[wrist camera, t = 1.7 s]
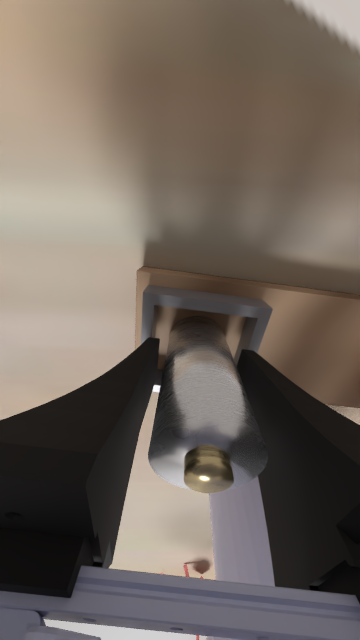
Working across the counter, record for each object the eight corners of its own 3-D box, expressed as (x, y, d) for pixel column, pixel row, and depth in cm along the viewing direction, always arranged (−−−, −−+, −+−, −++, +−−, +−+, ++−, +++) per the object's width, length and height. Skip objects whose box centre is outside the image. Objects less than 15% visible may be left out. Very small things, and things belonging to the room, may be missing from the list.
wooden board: (496, 313, 12) (536, 323, 11) (415, 401, 15) (437, 417, 14) (142, 266, 12) (136, 270, 10) (139, 367, 15) (134, 380, 14)
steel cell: (236, 337, 12) (304, 477, 5) (200, 371, 13) (214, 521, 6) (192, 304, 11) (199, 417, 4) (158, 344, 12) (121, 482, 5)
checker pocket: (262, 299, 11) (273, 308, 9) (234, 385, 13) (239, 402, 12) (148, 284, 11) (142, 292, 9) (144, 374, 13) (138, 390, 12)
